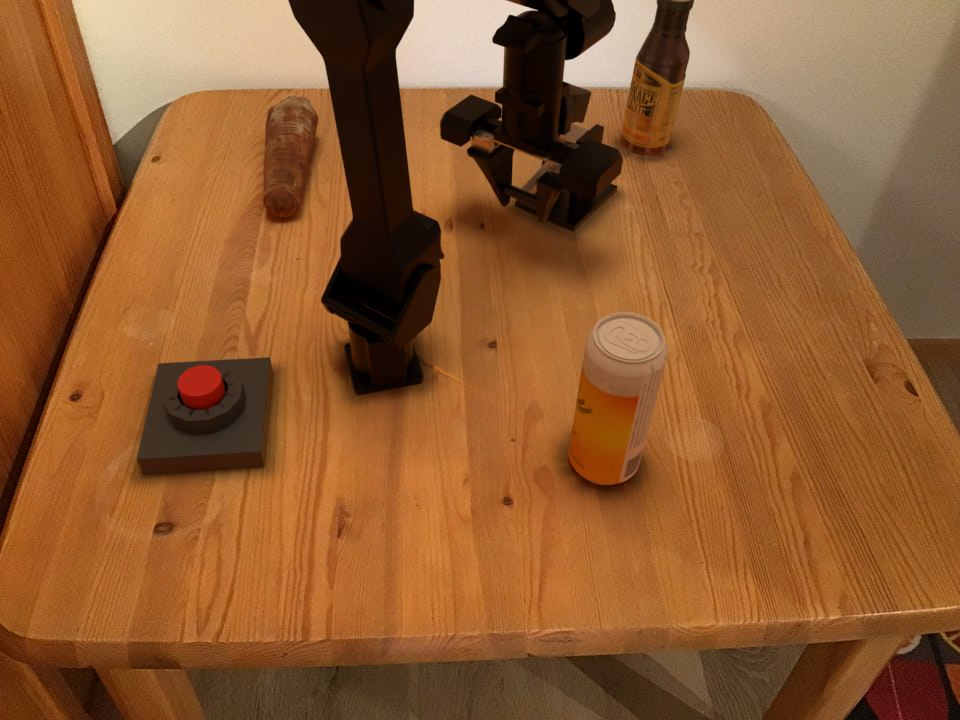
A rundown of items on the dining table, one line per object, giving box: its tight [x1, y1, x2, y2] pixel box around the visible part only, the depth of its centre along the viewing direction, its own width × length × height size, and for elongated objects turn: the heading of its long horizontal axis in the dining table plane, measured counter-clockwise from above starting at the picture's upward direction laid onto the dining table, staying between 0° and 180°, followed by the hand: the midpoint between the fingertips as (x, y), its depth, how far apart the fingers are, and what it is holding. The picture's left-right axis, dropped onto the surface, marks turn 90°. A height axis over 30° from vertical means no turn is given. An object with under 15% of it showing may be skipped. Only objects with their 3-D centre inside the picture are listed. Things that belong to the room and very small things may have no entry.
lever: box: [503, 123, 589, 208], centre depth 92 cm, size 12×4×2 cm, turn 145°
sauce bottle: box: [621, 0, 695, 156], centre depth 102 cm, size 7×6×20 cm
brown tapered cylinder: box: [262, 95, 319, 218], centre depth 100 cm, size 6×19×6 cm, turn 2°
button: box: [177, 365, 225, 410], centre depth 72 cm, size 4×4×2 cm
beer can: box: [568, 311, 669, 486], centre depth 68 cm, size 6×6×15 cm
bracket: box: [514, 123, 618, 232], centre depth 96 cm, size 10×8×10 cm
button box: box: [136, 356, 274, 476], centre depth 74 cm, size 11×10×4 cm
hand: (524, 212), depth 92 cm, fingers closed on lever, 4 cm apart
